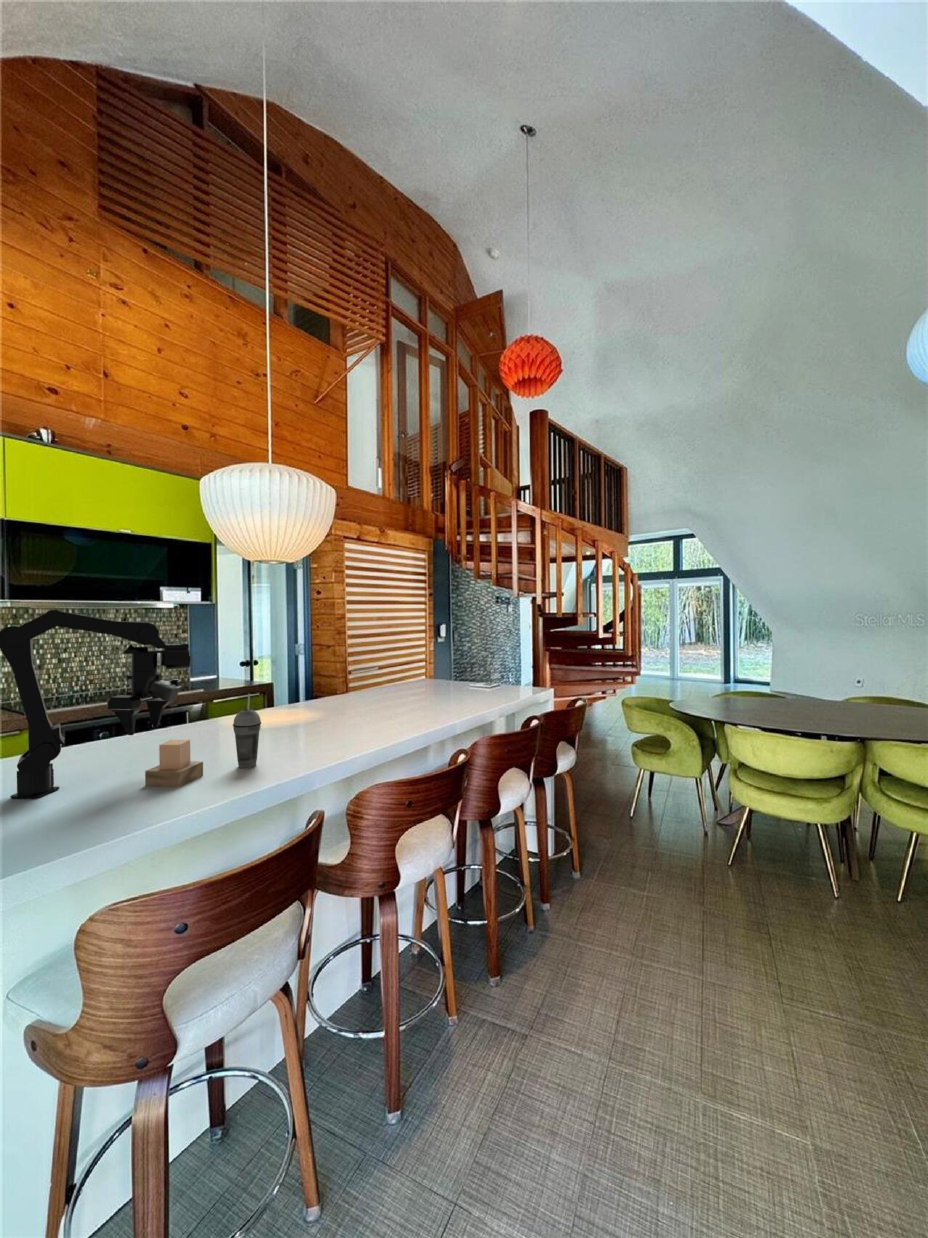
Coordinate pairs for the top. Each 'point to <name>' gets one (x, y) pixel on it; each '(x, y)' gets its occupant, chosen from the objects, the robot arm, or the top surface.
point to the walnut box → (173, 775)
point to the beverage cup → (247, 736)
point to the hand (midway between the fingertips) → (143, 731)
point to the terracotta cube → (174, 754)
